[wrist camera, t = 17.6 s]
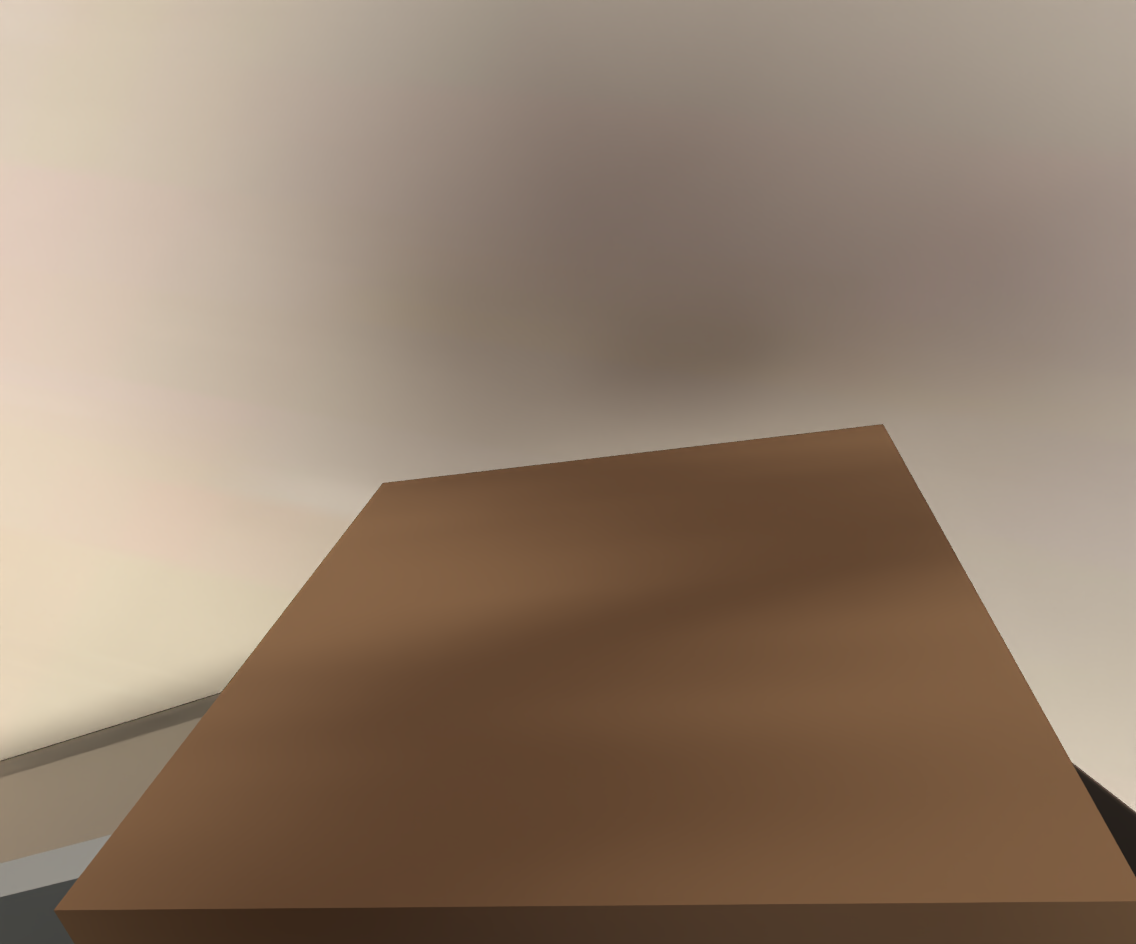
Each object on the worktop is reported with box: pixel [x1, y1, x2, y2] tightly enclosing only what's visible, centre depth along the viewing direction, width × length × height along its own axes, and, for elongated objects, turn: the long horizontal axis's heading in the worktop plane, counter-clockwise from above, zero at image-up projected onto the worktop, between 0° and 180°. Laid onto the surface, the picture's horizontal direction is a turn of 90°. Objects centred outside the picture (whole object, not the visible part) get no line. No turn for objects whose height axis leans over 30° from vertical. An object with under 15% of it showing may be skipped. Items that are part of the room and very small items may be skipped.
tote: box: [0, 693, 221, 944], centre depth 24 cm, size 22×15×5 cm
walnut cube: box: [54, 424, 1136, 944], centre depth 7 cm, size 5×5×5 cm
